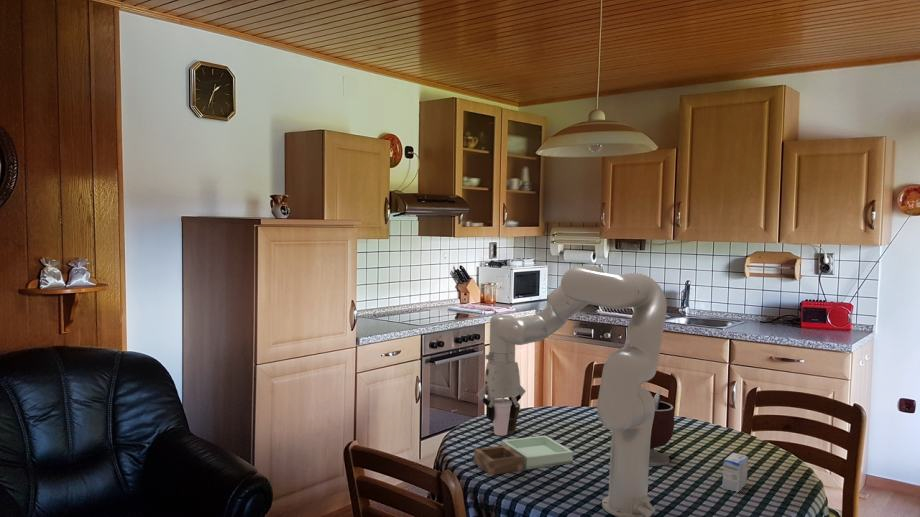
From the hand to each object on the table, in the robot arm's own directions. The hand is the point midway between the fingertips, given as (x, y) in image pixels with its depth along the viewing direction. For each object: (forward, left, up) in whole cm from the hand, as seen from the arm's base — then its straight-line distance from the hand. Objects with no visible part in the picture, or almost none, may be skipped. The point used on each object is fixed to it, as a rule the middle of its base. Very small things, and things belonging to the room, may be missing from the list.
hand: (500, 418), depth 190 cm
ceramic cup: (+27, -16, -15) cm, 35 cm away
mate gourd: (-9, -49, -15) cm, 52 cm away
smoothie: (0, 0, -5) cm, 5 cm away
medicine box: (-36, -56, -15) cm, 68 cm away
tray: (+3, -15, -15) cm, 21 cm away
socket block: (0, 0, -15) cm, 15 cm away
